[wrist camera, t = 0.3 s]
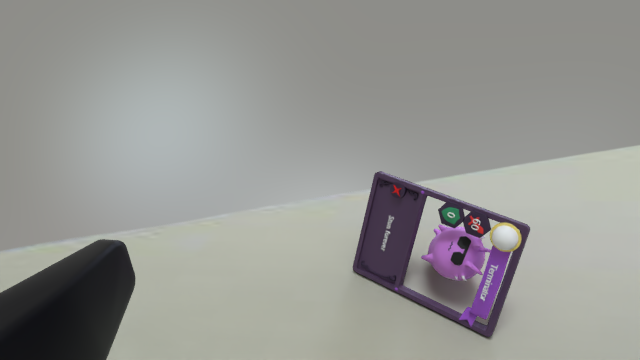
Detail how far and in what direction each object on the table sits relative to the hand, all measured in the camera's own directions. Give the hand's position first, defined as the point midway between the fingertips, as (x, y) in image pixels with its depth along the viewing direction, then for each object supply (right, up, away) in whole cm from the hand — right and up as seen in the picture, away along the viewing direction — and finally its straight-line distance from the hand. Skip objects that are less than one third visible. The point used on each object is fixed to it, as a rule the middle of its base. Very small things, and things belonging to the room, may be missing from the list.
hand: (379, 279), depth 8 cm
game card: (+6, -5, +23) cm, 24 cm away
